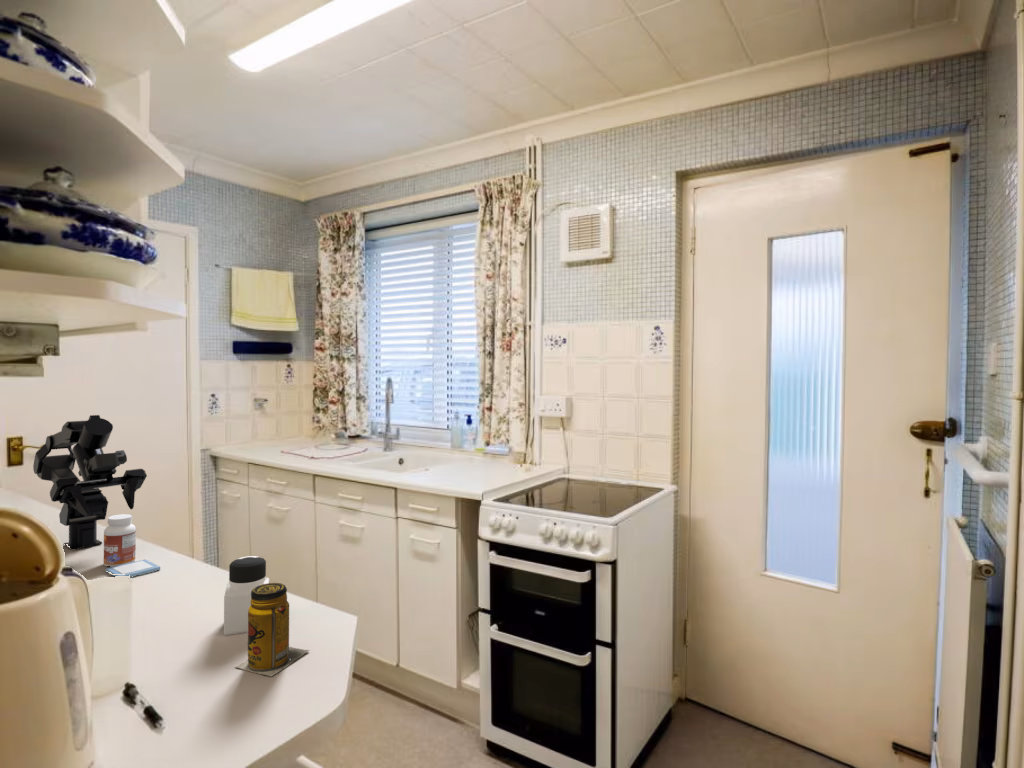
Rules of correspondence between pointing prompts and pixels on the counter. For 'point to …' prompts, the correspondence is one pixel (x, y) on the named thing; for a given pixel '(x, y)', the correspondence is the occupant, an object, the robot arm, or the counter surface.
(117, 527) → the pill bottle
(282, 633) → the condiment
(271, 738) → the counter surface
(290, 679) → the counter surface
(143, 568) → the coaster
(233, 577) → the medicine bottle
